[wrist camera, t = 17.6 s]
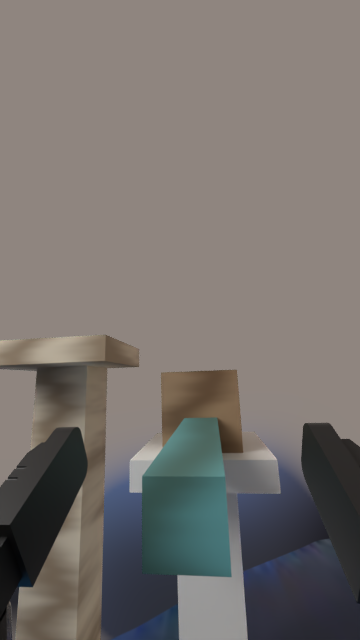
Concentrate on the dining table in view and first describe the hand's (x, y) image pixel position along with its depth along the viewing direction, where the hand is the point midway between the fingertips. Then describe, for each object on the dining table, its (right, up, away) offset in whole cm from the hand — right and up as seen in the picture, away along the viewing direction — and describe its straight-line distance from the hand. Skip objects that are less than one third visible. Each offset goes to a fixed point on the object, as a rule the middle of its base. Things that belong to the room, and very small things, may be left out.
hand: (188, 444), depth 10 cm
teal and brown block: (+1, -5, +7) cm, 9 cm away
